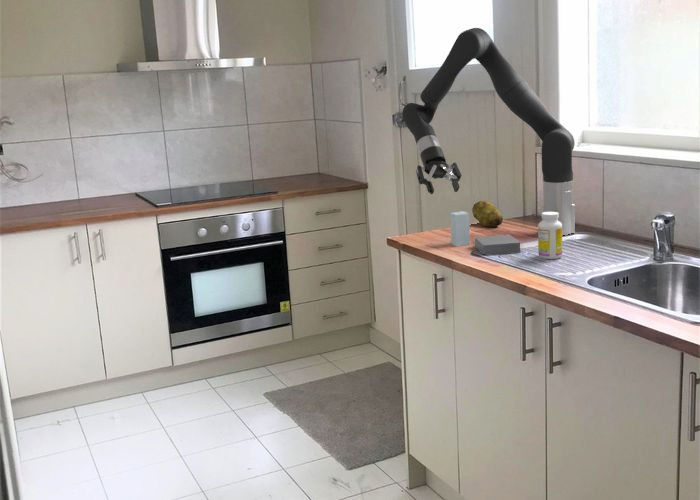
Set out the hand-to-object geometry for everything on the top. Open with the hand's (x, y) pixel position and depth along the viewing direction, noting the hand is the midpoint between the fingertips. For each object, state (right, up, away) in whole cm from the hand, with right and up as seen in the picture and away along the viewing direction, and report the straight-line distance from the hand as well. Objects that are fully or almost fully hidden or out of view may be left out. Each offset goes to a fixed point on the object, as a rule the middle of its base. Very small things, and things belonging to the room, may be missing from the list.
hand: (444, 191), depth 252 cm
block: (+4, -17, -7) cm, 19 cm away
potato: (+17, -10, +19) cm, 27 cm away
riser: (+14, -19, -16) cm, 28 cm away
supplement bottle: (+27, -21, -28) cm, 44 cm away
